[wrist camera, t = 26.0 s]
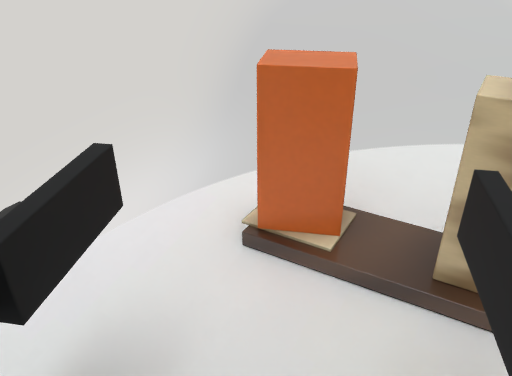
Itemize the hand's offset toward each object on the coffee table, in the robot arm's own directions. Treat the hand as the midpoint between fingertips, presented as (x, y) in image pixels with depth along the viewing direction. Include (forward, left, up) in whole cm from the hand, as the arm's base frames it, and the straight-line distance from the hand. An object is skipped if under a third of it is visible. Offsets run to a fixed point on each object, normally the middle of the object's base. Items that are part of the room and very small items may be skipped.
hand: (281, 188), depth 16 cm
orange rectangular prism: (-3, +9, -7) cm, 12 cm away
